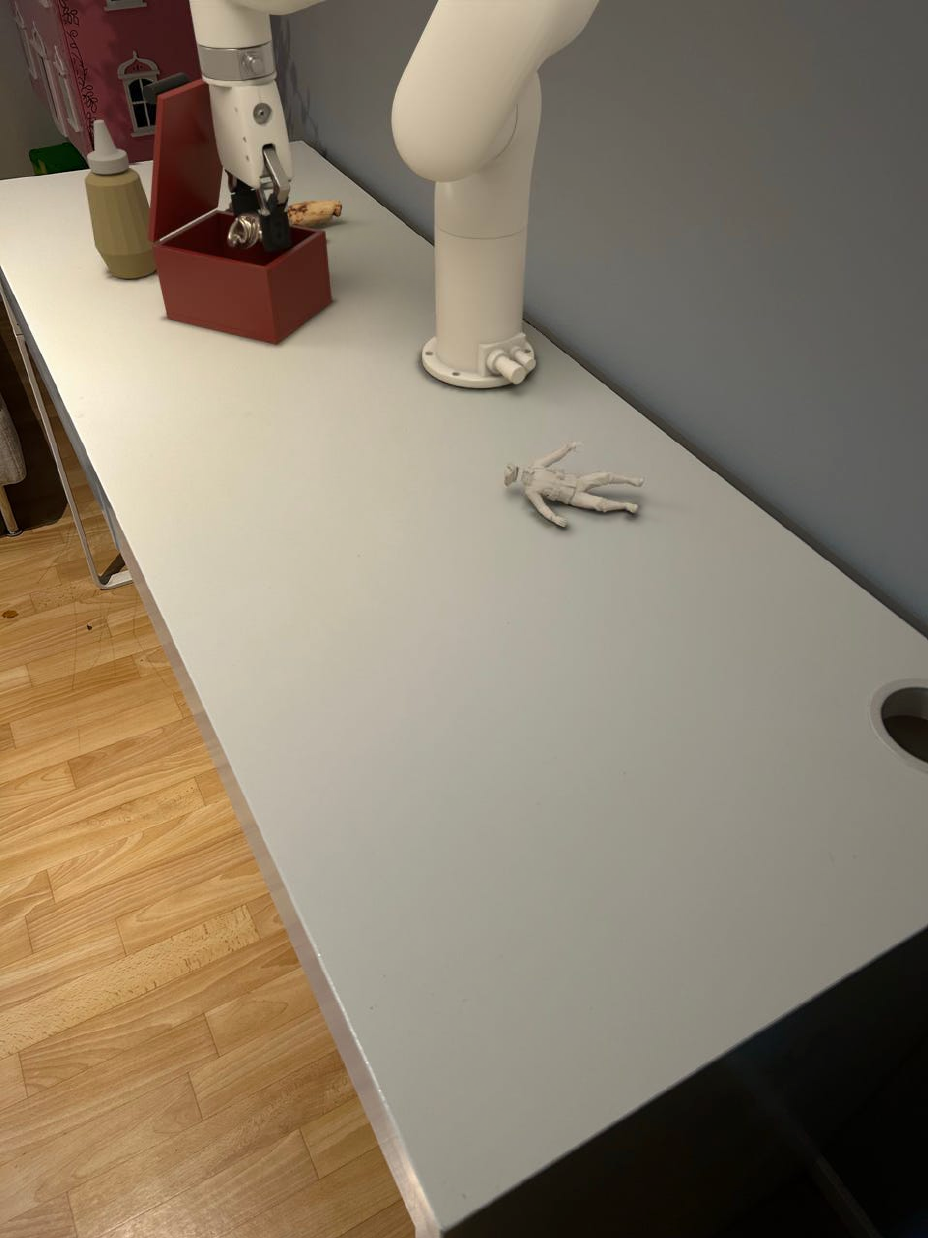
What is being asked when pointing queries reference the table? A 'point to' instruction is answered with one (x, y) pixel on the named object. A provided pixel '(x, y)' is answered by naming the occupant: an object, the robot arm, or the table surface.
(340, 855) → the table surface
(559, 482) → the soldier figure
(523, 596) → the table surface
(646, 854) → the table surface
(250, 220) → the ornament
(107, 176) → the squeeze bottle
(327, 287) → the box
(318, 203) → the lashed bone hook
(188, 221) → the lid
